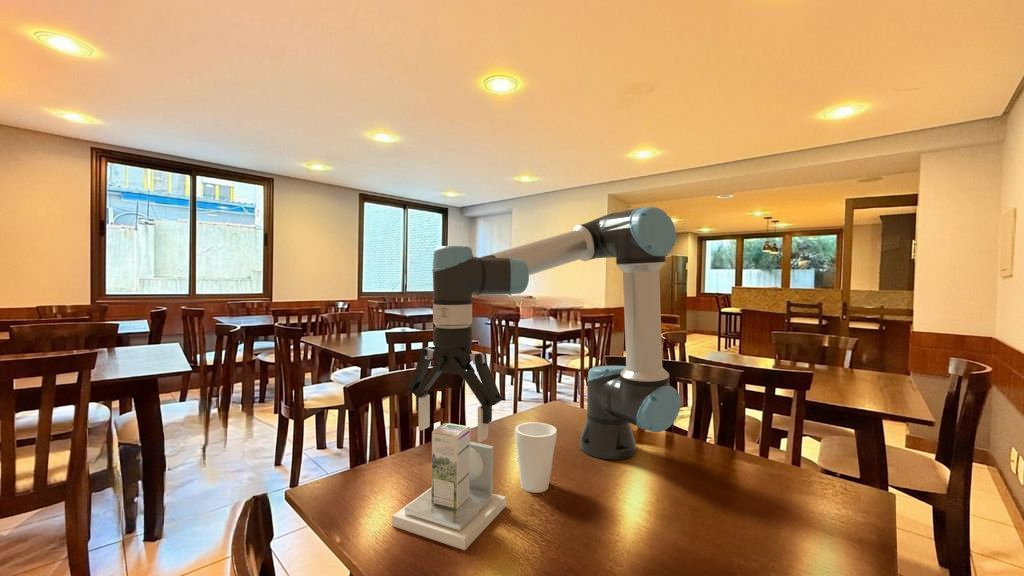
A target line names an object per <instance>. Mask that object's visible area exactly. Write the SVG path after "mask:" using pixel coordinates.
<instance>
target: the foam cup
mask: <svg viewBox="0 0 1024 576" xmlns="http://www.w3.org/2000/svg"><path fill="white" fill-rule="evenodd" d="M557 431H558V430H557V428H556V427H555V425H551V424H548V423H544V422H537V421H535V422H531V421H529V422H524V423H520V424H517V425H516V426H515V428H514V440H515V446H516V453H517V455H516V456H517V463H518V472H519V473H518V474H519V481H520V487H521V488H522V490H523V491H526V492H529V493H532V494H533V493H536V494H537V493H542V492H543V493H544V492H546V491H547V490H548V489H549V486H550V485H549V484H550V479H551V472H552V467H553V459H554V453H555V445H556V443H557V433H558V432H557Z"/></svg>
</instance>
